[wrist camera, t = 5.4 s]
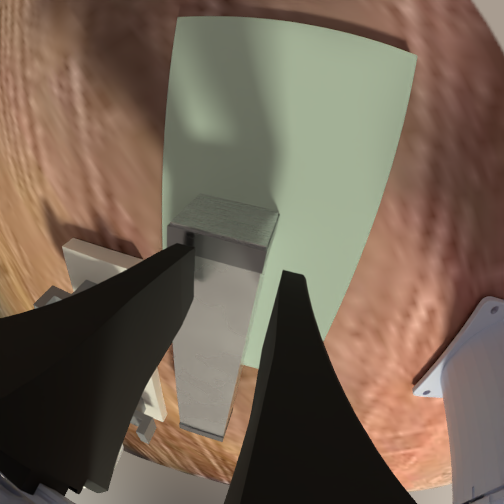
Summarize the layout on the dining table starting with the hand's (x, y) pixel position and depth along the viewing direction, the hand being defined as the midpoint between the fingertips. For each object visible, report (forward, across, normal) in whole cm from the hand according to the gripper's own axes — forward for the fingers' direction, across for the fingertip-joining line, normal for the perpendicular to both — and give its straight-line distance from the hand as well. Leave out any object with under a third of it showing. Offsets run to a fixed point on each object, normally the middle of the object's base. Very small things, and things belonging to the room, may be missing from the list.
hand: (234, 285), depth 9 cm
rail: (+3, +1, +7) cm, 7 cm away
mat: (+3, 0, 0) cm, 4 cm away
